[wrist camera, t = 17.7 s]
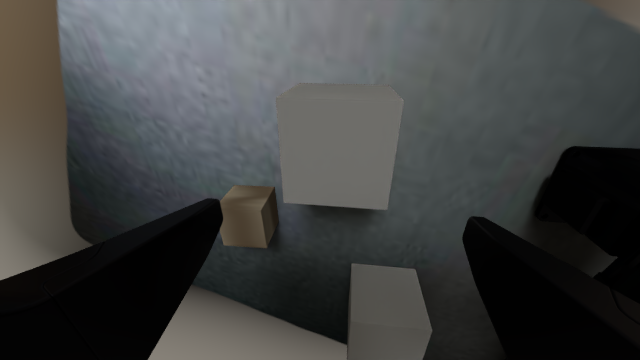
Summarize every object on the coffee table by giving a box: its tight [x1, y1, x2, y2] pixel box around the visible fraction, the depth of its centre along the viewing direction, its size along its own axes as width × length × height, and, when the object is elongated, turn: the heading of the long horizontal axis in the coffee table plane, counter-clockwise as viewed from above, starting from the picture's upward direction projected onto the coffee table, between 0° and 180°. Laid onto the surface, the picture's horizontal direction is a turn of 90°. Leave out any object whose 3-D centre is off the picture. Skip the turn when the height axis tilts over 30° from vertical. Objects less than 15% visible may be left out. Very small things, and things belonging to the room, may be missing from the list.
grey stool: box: [347, 263, 432, 360], centre depth 25 cm, size 7×7×6 cm
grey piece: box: [276, 83, 404, 210], centre depth 17 cm, size 7×7×6 cm
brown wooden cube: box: [220, 185, 279, 248], centre depth 23 cm, size 4×4×4 cm
